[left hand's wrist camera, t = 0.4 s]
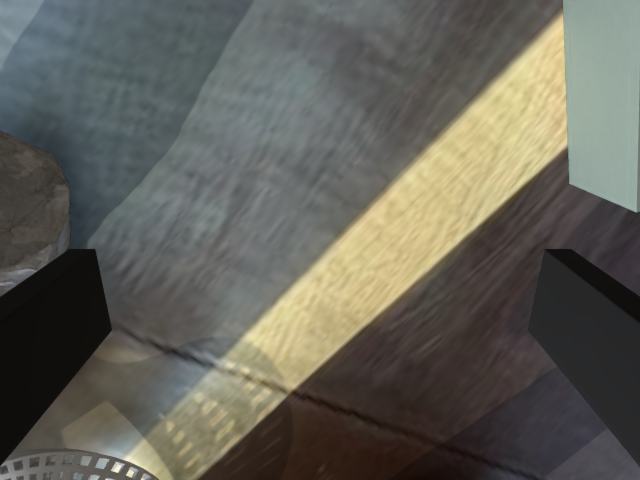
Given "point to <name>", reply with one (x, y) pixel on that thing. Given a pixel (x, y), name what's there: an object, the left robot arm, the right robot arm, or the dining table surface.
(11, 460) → the decorative object
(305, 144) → the dining table surface
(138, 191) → the dining table surface
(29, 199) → the decorative stone
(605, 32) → the cabinet
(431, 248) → the dining table surface
